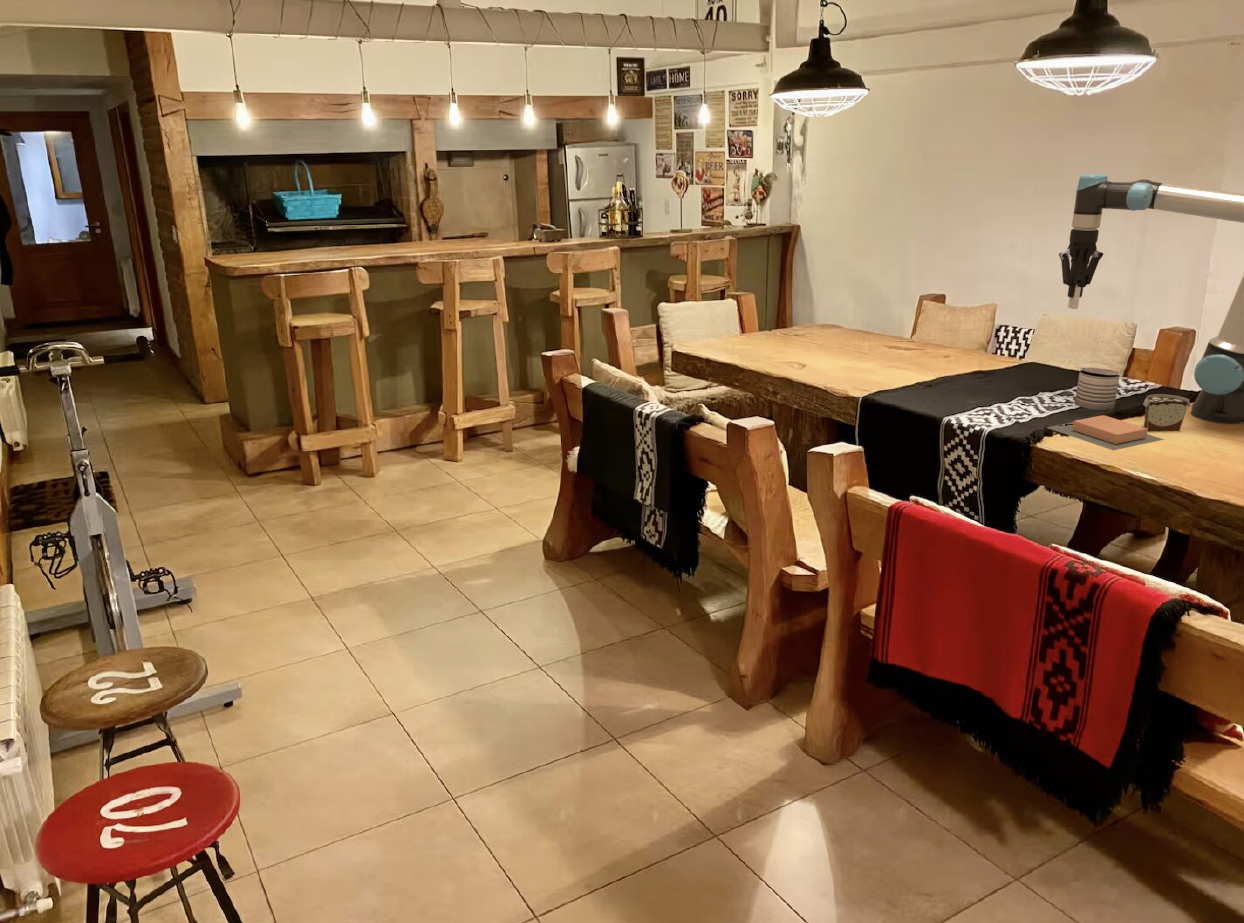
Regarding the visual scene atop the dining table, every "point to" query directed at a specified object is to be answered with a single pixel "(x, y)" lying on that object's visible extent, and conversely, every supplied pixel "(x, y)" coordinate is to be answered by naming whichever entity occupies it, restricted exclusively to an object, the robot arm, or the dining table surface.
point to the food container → (1165, 412)
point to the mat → (1100, 442)
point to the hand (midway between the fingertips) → (1072, 308)
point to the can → (1097, 388)
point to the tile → (1109, 429)
